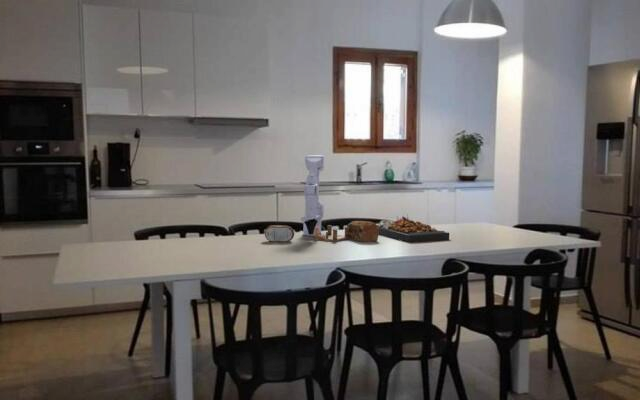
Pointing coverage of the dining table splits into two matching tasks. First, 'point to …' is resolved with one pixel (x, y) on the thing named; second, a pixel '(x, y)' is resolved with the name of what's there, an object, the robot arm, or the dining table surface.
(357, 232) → the bread
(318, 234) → the gate leg
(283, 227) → the tin
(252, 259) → the dining table surface
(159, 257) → the dining table surface
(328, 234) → the stool frame
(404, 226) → the food platter
